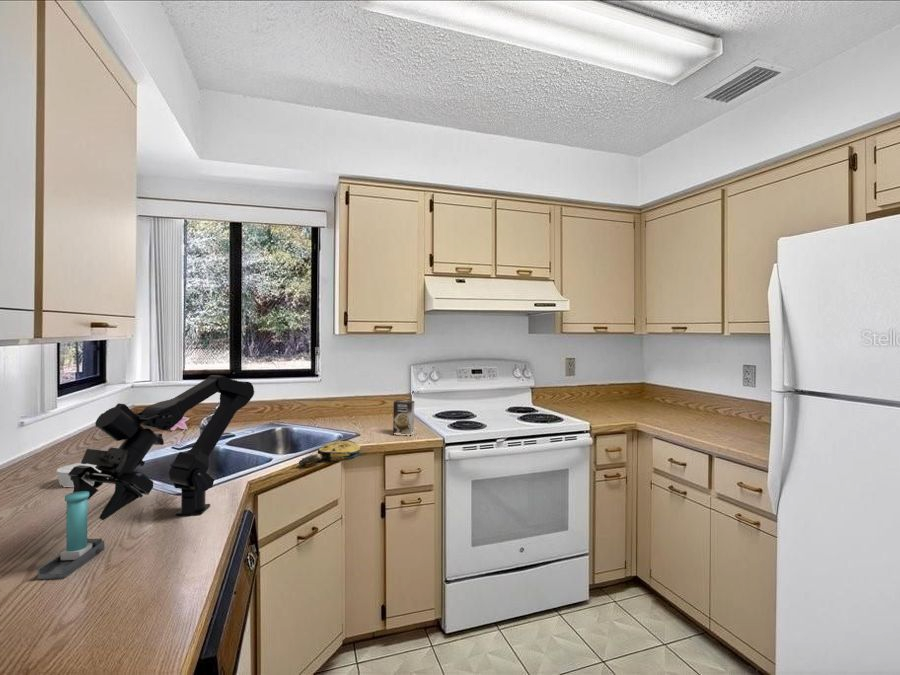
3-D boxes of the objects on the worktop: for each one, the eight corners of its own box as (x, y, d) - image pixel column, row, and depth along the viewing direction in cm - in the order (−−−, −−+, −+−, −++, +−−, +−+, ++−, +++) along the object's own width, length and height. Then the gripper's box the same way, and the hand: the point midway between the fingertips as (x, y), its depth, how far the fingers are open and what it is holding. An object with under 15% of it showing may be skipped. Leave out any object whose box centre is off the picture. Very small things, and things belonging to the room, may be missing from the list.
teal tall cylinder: (73, 551, 98) (73, 491, 98) (93, 550, 99) (93, 490, 98) (59, 560, 94) (59, 498, 94) (80, 559, 95) (80, 497, 95)
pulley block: (287, 447, 167) (347, 433, 193) (285, 463, 168) (345, 447, 193) (314, 460, 160) (372, 443, 186) (312, 476, 161) (370, 457, 186)
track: (80, 550, 101) (80, 537, 101) (104, 549, 102) (104, 536, 102) (37, 579, 89) (37, 565, 89) (64, 578, 90) (64, 564, 90)
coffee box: (392, 435, 218) (392, 401, 218) (395, 432, 224) (396, 399, 224) (411, 436, 217) (411, 402, 217) (414, 433, 223) (414, 400, 223)
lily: (155, 434, 217) (162, 418, 215) (160, 421, 227) (166, 404, 225) (183, 440, 223) (190, 424, 221) (186, 426, 233) (193, 410, 231)
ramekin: (49, 491, 138) (49, 473, 138) (64, 479, 148) (65, 463, 148) (94, 487, 142) (95, 469, 142) (106, 476, 152) (106, 460, 152)
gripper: (76, 430, 105) (21, 495, 95) (141, 435, 100) (90, 504, 90) (110, 455, 113) (62, 517, 102) (172, 461, 108) (128, 528, 98)
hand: (84, 516), depth 98 cm, fingers open, 9 cm apart
